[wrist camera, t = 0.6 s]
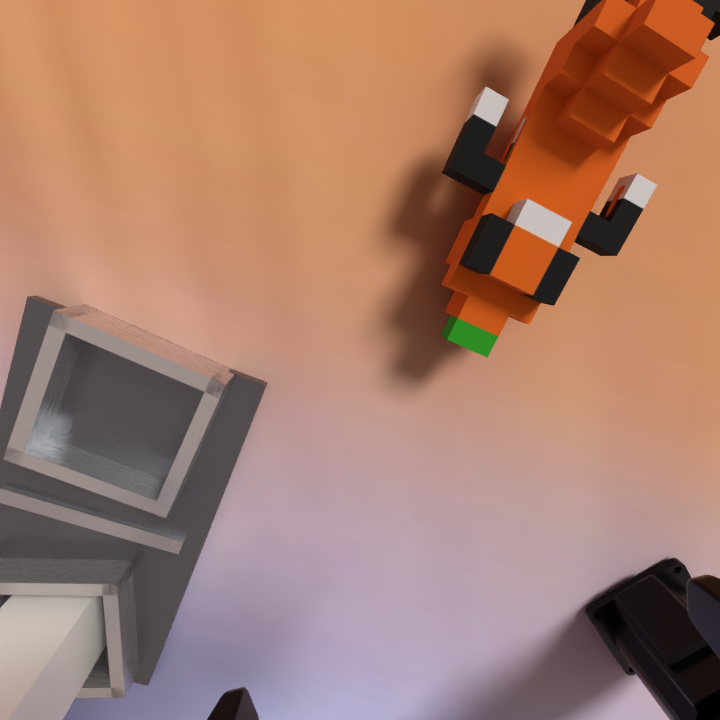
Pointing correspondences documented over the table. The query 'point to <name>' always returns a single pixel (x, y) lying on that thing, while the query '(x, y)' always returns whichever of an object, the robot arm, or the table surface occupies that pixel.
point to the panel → (133, 449)
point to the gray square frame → (87, 581)
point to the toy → (565, 159)
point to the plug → (47, 653)
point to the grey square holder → (88, 468)
